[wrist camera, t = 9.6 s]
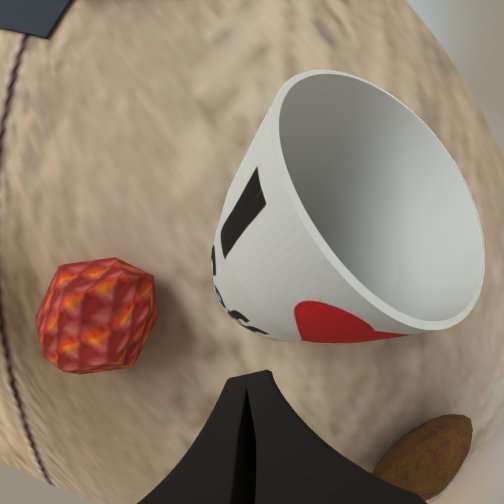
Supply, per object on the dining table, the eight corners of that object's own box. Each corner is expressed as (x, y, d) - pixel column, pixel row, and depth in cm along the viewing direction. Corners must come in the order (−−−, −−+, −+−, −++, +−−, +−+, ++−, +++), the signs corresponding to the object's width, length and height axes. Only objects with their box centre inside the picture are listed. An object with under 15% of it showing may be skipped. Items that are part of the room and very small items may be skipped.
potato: (338, 479, 23) (356, 537, 16) (414, 387, 21) (456, 445, 14) (390, 481, 24) (413, 530, 17) (461, 397, 22) (502, 444, 15)
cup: (147, 266, 15) (192, 108, 6) (261, 186, 19) (363, 57, 10) (261, 395, 14) (438, 402, 6) (351, 291, 18) (497, 222, 10)
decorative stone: (172, 307, 21) (79, 371, 18) (117, 220, 18) (17, 291, 16) (204, 346, 15) (82, 430, 13) (127, 229, 13) (-10, 329, 10)
